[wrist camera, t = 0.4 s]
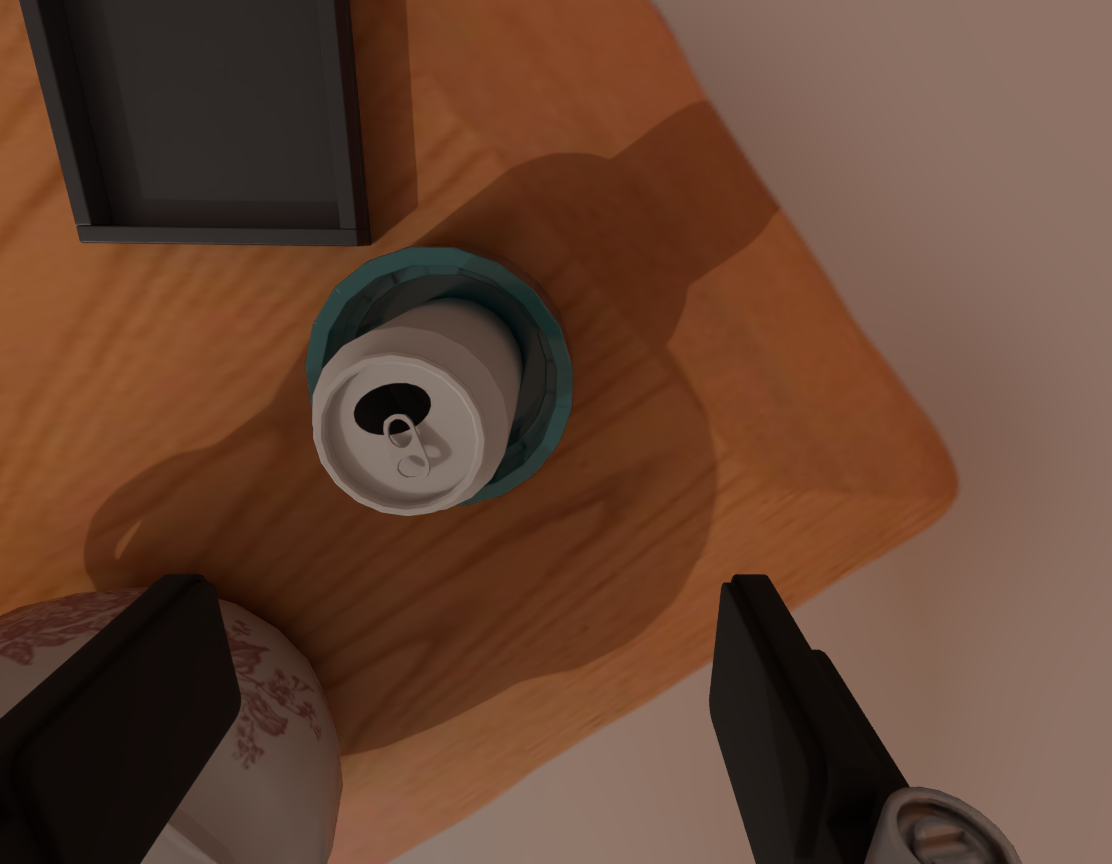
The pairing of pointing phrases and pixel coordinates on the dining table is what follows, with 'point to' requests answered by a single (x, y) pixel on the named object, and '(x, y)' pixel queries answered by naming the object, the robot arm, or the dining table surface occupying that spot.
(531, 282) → the bowl
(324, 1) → the tray
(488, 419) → the can
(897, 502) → the dining table surface
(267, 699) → the chamber pot
